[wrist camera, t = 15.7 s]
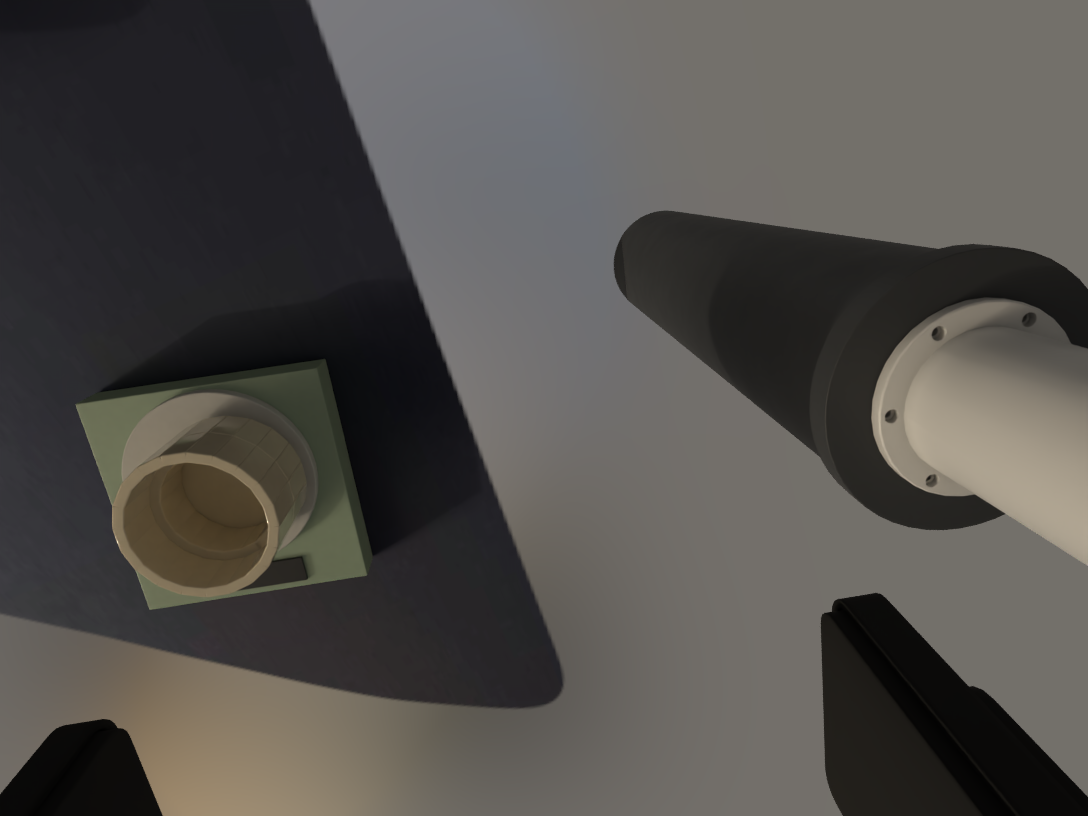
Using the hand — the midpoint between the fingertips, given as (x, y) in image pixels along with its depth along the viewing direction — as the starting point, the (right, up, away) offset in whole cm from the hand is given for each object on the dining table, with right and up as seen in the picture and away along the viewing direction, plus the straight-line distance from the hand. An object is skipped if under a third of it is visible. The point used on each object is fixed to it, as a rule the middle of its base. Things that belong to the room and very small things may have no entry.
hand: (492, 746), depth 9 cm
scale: (-16, +1, +29) cm, 33 cm away
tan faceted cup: (-15, +1, +26) cm, 30 cm away
